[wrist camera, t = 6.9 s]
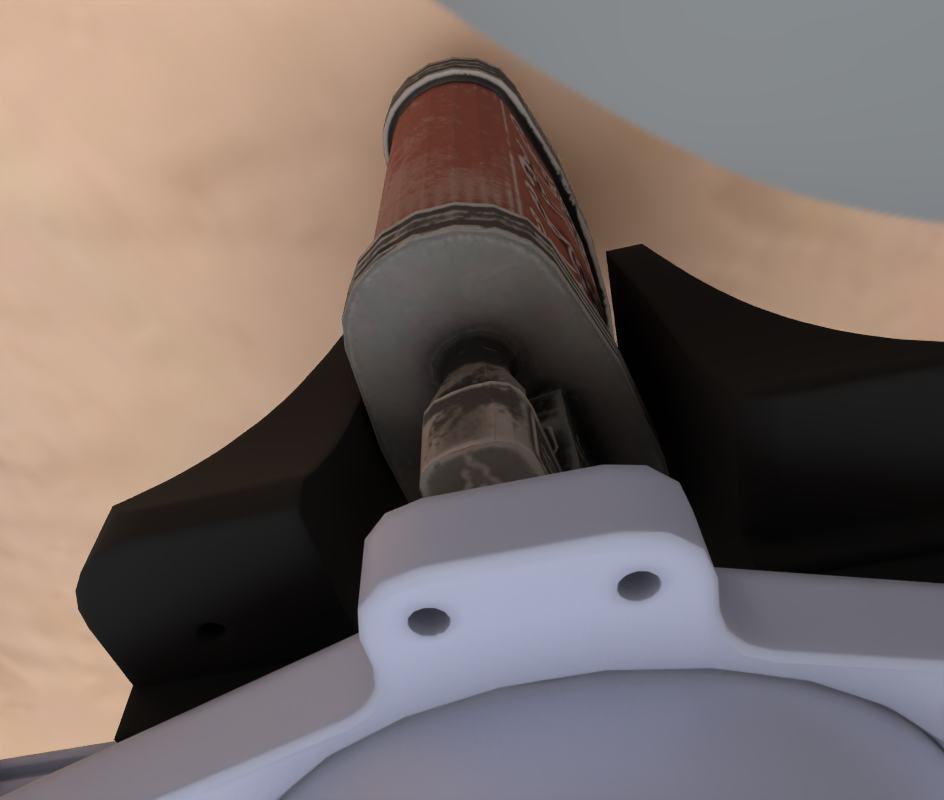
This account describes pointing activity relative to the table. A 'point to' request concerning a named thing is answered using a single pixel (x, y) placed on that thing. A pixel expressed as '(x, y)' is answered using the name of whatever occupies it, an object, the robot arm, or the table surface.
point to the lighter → (485, 300)
